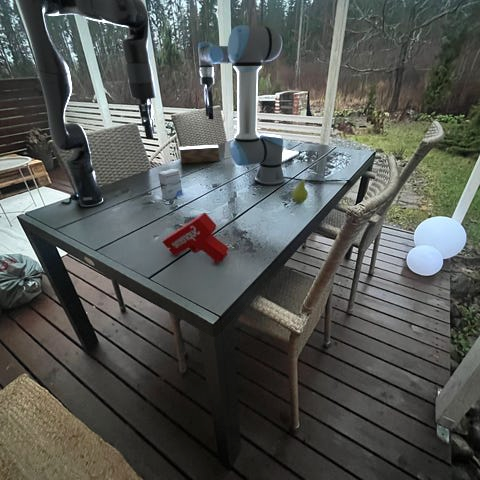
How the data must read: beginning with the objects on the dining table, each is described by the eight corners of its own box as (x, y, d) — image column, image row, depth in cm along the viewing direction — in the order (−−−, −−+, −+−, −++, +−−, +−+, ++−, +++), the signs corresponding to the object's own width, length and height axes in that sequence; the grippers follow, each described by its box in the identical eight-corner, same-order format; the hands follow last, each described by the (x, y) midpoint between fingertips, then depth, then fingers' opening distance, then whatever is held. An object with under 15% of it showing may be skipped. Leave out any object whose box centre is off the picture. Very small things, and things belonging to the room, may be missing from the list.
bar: (217, 158, 180) (217, 144, 175) (219, 160, 175) (218, 147, 171) (181, 160, 176) (179, 147, 171) (181, 163, 171) (179, 149, 166)
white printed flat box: (278, 164, 168) (279, 155, 165) (234, 155, 185) (234, 147, 183) (298, 154, 186) (299, 146, 183) (256, 147, 204) (256, 139, 201)
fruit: (288, 200, 123) (290, 174, 116) (302, 197, 125) (305, 172, 119) (296, 206, 118) (299, 179, 111) (310, 203, 120) (314, 177, 114)
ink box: (177, 191, 132) (173, 167, 126) (183, 194, 129) (179, 170, 123) (161, 196, 127) (157, 172, 121) (167, 199, 124) (163, 174, 118)
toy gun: (235, 250, 84) (205, 211, 80) (230, 257, 81) (199, 217, 77) (197, 268, 94) (169, 235, 90) (191, 276, 91) (162, 241, 87)
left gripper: (131, 80, 89) (141, 132, 97) (124, 82, 77) (137, 141, 86) (155, 79, 90) (162, 131, 99) (152, 81, 78) (161, 140, 87)
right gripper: (198, 75, 161) (201, 114, 173) (202, 77, 141) (205, 121, 152) (210, 75, 162) (213, 114, 174) (217, 76, 142) (218, 120, 153)
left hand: (150, 136), depth 92 cm, fingers open, 8 cm apart
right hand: (209, 117), depth 163 cm, fingers open, 13 cm apart
